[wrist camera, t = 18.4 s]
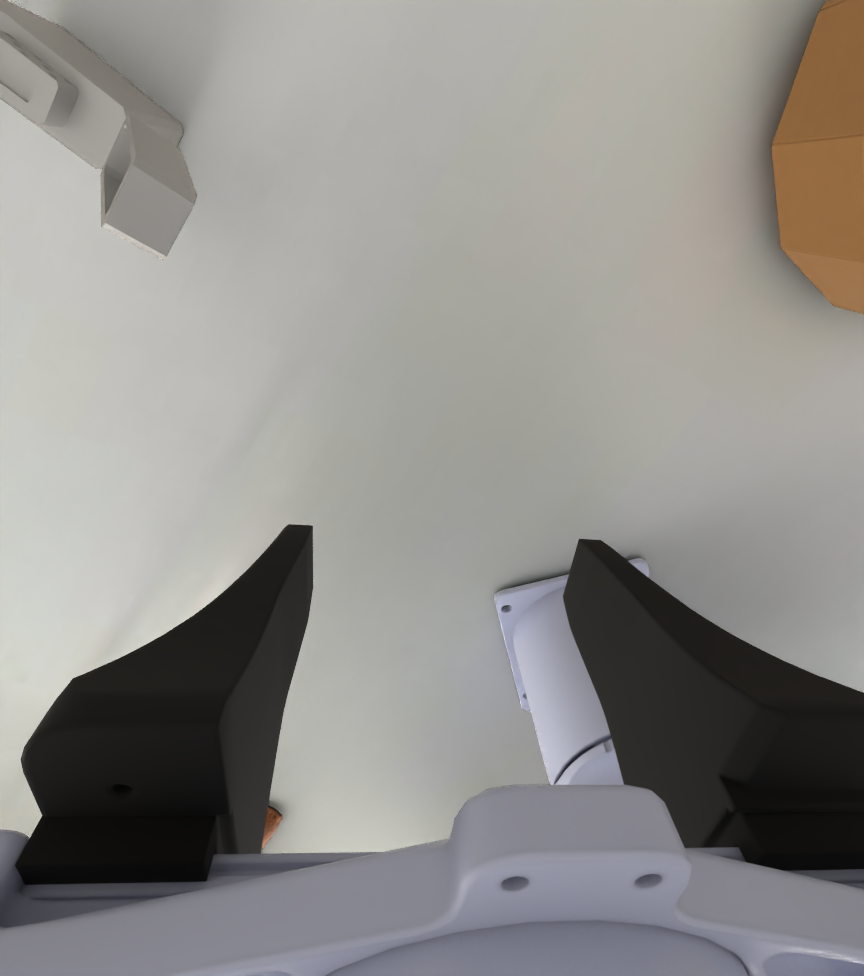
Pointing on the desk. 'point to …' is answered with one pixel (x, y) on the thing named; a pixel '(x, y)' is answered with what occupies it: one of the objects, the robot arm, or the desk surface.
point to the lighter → (99, 127)
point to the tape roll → (826, 158)
